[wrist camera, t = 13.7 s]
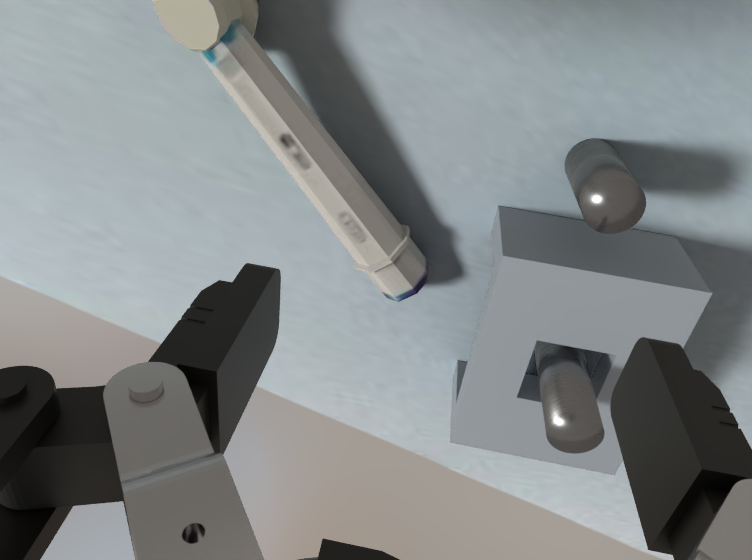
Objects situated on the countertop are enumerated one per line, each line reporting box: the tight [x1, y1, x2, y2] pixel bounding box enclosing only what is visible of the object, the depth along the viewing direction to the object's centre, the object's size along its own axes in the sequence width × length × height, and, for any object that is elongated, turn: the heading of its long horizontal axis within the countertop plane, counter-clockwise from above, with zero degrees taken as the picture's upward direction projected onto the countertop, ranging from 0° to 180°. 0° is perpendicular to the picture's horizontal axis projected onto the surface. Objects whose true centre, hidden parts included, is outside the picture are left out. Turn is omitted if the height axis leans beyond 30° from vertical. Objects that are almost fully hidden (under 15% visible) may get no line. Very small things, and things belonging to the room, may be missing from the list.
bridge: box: [450, 206, 713, 475], centre depth 40 cm, size 12×16×7 cm
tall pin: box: [534, 340, 604, 454], centre depth 38 cm, size 3×3×12 cm
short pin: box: [565, 139, 646, 234], centre depth 33 cm, size 3×3×7 cm
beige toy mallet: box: [153, 0, 430, 302], centre depth 36 cm, size 5×7×25 cm
